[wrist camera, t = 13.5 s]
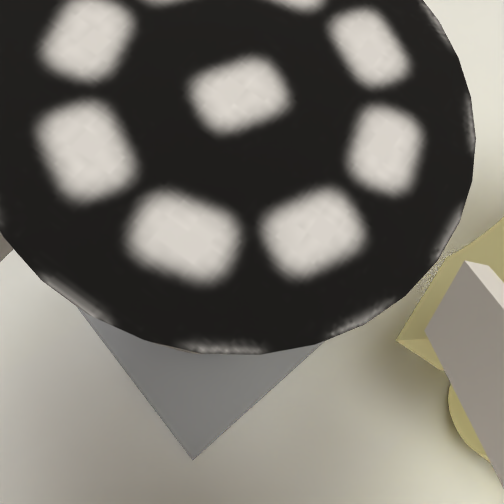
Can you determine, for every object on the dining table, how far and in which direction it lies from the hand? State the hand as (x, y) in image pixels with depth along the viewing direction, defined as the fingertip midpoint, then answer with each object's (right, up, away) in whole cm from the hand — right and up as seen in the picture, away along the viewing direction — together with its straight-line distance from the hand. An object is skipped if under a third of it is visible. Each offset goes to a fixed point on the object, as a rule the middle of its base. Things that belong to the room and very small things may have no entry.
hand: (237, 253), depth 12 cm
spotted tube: (-3, -2, +14) cm, 15 cm away
